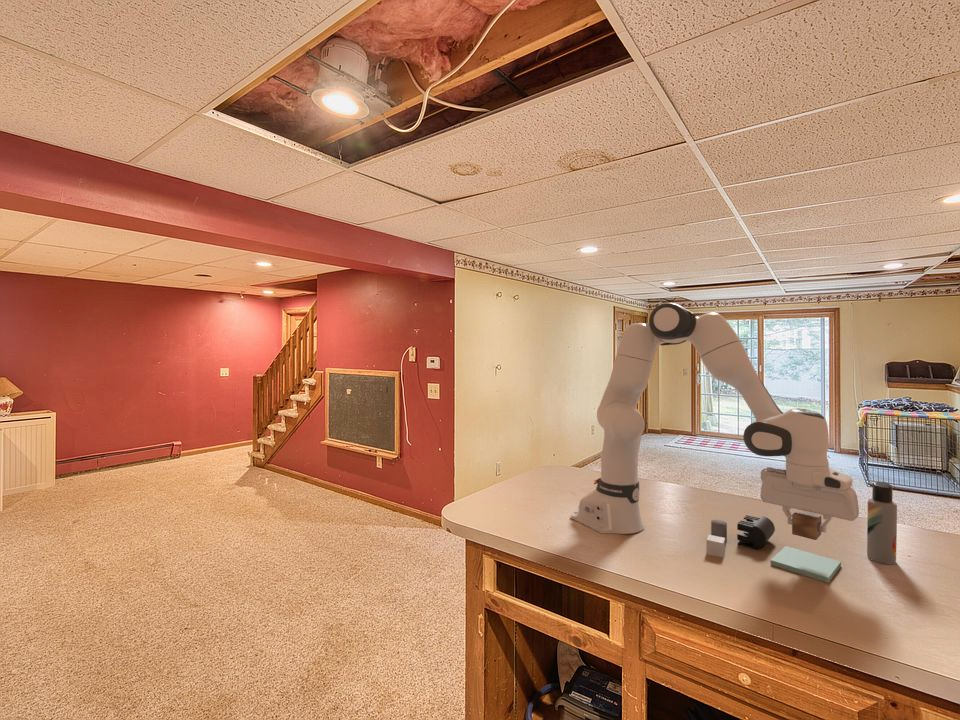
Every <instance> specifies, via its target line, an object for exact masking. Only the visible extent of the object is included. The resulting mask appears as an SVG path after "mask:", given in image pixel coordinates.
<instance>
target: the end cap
mask: <svg viewBox="0 0 960 720" xmlns="http://www.w3.org/2000/svg"><path fill="white" fill-rule="evenodd" d="M736 527H737V531H740V532H743V534H739V533H737V534H736V539H737V540H738V542H737V545H738V546H742V547H745V548H748V549H752V550H757V549H760V548H762V547H764V546H765V545H766V543H767V542H768V541H769V540H770V539H771V537H772V536H773V535H774V534H775V531H776V528H775V525H774V522H773V521H772V520H771V519H770V518H768V517H766V516H765V515H762V516H761V517H756V516H753V515H748V514H747V515H746V514H745V516H744V517H743V520H739V521H738V522H737V524H736Z"/></svg>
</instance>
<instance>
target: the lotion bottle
mask: <svg viewBox="0 0 960 720" xmlns="http://www.w3.org/2000/svg"><path fill="white" fill-rule="evenodd" d="M897 527H898V505H897V503H896V502H893V485H892V484H890V483H889V482H885V481H874V482H872V496H871V498H869V499H868V500H867V527H866V530H867V531H866V534H867V535H866V546H867V547H866V556H867V558H868V559H870V560H871V561H873V562H876V563H879V564H884V565H894V564H896V562H897V533H898V532H897V531H898V530H897V529H898V528H897Z"/></svg>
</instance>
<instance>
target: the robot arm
mask: <svg viewBox="0 0 960 720" xmlns="http://www.w3.org/2000/svg"><path fill="white" fill-rule="evenodd" d="M685 342H689V343H690V344H692V345H693V347H694V348H695V350H696V352H697V353H698V354H697V355H698V356H699V358H700V359H701V362H702V363H703V365H704V366H705V369H706V370H707V371H708V372H709V374H710V375H711V376H712V377H713V378H714V379H716V380H718V381H720V382H722V383H725V384H728V385H729V386H731V387H732V388H734V389H736V391H737V392H738V393H739V394H740V395H741V398H743V400H744V401H745V403H746V405H747V406H748V408H749V409H750V411H751V414H752V415H753V416H754V419H755V421H753V422H751V423H750V424H749V425H748V426H746V428H745V429H744V431H743V436H742V437H743V442H744V444H745V446H746V448H747V449H748V450H749V451H750V452H752V454H754V455H757V456H760V457H785V469H782V468H781V469H780V468H773V467H765V468H763V469H762V470H761V471H760V481H761V486H760V487H761V488H760V499H761V500H762V502H763V503H767V504H773V505H777V506H781V507H782V509H781V510H782V512H783V513H784V515H785V516H786V518H787V524H788V525H791V526H792V513H791V509H794V510H802V511H806V512H811V513H815V514H820V515H821V516H822V518H823V520H824V522H821V523H819V524H818V531H820V532H821V533H823V534H825V533H827V529H828V528H827V526H828V524H829V523H830V521H831V520H832V519H833V518H836V519H839V520H845V521H850V522H853V521H856V519H857V518H858V517H859V514H860V507H859V500H858V496H857V495H858V494H857V492H856V490H855V489H854V488H853V487H851V486H852V485H853V478H852V477H851V476H850V475H848V474H845V473H843V472H840V471H838V470H835V469H834V468H833V469H832V468H831V467H829V466H830V462H829V459H828V450H829V448H830V445H829V444H830V440H829V439H830V437H829V436H830V435H829V426H828V423H827V420H826V418H825V417H824V415H822V414H821V413H819V412H817V411H814V410H811V409H806V408H796V407H795V408H790V409H789V410H786V411H785V412H783V411H782V410H781V409H780V408H779V406H777V404H776V403H775V402H776V401H774V399H773V397H772V395H771V393H769V391H768V389H767V388H766V386H765V385H764V383H763V382H762V379H761V378H760V377H759V375H758V373H757V372H756V371H757V370H756V369H755V368H754V366H753V363H752V361H751V359H750V358H749V357H750V356H749V355H748V353H747V351H746V349H745V347H744V345H743V343H742V341H741V339H740V338H739V336H738V334H737V333H736V332H735V329H734V328H733V327H732V326H731V324H730V323H729V322H728V320H727V319H726V318H725V317H724V316H723V315H722V314H720V313H718V312H707V313H704V314H701V315H698V316H696V314H695V313H694V312H693V311H690V310H688V309H686V307H684V306H682V305H680V304H678V303H673V302H665V303H661V304H660V305H657V306H656V307H654V309H653V310H652V311H651V313H650V315H649V318H648V322H647V323H644V322H635V323H634V322H633V323H631V324H629V325H628V326H626V328H625V330H624V331H623V334H622V337H621V338H620V342H619V345H618V347H617V351H616V355H615V357H614V362H613V366H612V370H611V373H610V377H609V381H608V383H607V386H606V388H605V391H603V392H604V393H603V396H602V398H601V399H600V400H601V401H600V402H599V405H598V407H597V411H596V419H597V422H598V425H600V427H601V428H602V429H603V433H604V434H603V435H604V436H603V442H602V443H603V444H602V449H601V453H600V477H599V478H597V479H596V480H593V485H596V484H597V485H596V486H595V487H596V488H594V489H593V490H592V491H590V492H589V493H587V494H586V495H584V496H582V498H581V499H580V501H579V504H578V509H576V510H574V511H573V512H572V513H571V519H572V520H574V521H576V522H578V523H580V524H582V525H585V526H587V527H588V528H590V529H592V530H594V531H597V532H598V533H600V534H604V535H605V534H621V535H622V534H623V535H625V534H626V535H627V534H636V533H639V532H641V531H643V530H644V524H643V520H642V517H641V516H642V515H641V510H640V504H639V502H640V501H639V500H640V481H639V470H638V469H639V468H638V467H639V466H638V465H639V462H638V461H639V451H640V445H641V441H642V434H643V432H644V430H645V420H644V417H643V415H642V414H641V412H640V410H639V409H638V408H637V406H638V403H639V400H640V398H641V397H642V395H643V393H644V391H645V390H646V389H647V387H648V383H649V379H650V377H651V376H650V375H651V371H652V368H653V363H654V359H655V355H656V352H657V350H658V348H659V347H660V346H663V347H664V346H675V345H680V344H683V343H685Z"/></svg>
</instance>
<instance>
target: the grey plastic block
mask: <svg viewBox="0 0 960 720" xmlns="http://www.w3.org/2000/svg"><path fill="white" fill-rule="evenodd" d="M705 549H706V555H709V556H712V557H713V556H714V557H717V558H721V559H724V557H725V553H726V542H725V538H723V537H718V536H713V535H711V534H708V535H707V538H706V548H705Z"/></svg>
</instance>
